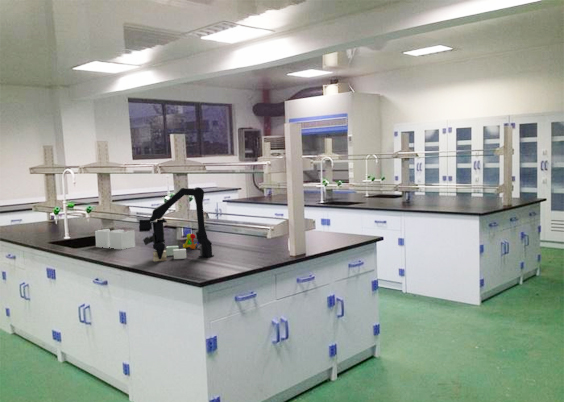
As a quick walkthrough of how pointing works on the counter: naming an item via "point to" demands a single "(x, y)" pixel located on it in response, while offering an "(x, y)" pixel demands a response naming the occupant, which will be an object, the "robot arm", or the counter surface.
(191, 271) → the counter surface
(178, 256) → the offwhite block
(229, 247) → the counter surface
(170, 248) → the sage block
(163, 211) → the robot arm
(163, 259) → the maple block
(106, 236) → the storage container
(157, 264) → the counter surface
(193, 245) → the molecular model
